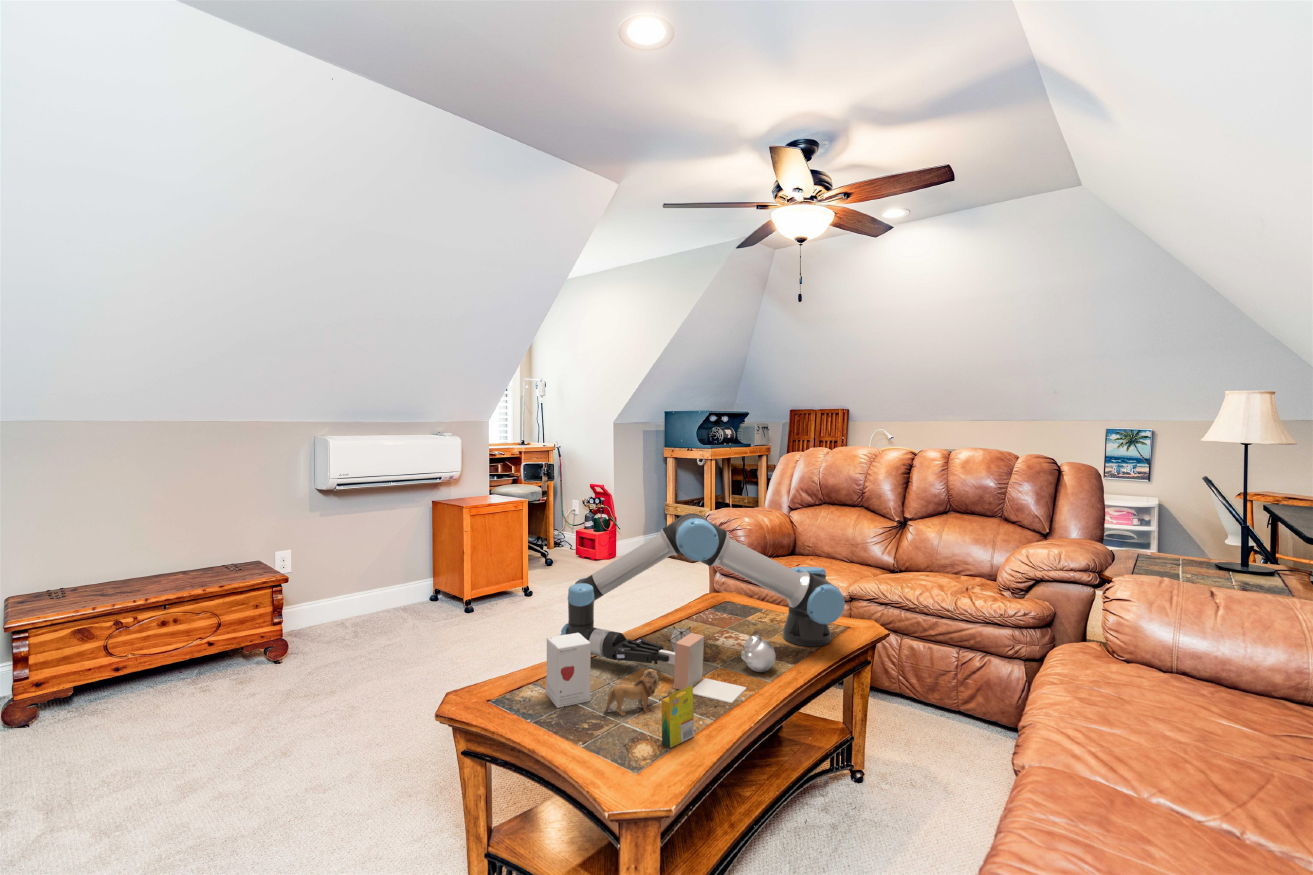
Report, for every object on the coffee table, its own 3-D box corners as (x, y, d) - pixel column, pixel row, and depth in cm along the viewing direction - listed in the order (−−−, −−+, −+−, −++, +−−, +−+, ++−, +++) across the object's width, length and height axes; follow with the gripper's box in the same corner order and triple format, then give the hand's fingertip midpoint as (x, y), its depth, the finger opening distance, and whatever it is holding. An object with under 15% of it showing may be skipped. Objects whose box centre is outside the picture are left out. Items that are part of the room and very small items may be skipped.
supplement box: (556, 709, 151) (556, 648, 151) (545, 694, 159) (545, 636, 159) (591, 701, 155) (591, 642, 155) (579, 687, 163) (578, 631, 163)
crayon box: (685, 732, 140) (685, 680, 139) (694, 737, 137) (694, 685, 137) (660, 743, 135) (660, 690, 135) (669, 748, 133) (669, 694, 132)
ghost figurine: (744, 662, 180) (744, 628, 180) (777, 667, 177) (777, 632, 177) (738, 674, 172) (738, 638, 171) (772, 679, 168) (772, 642, 168)
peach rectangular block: (701, 679, 168) (704, 635, 168) (687, 691, 161) (689, 646, 160) (688, 675, 170) (691, 632, 170) (673, 687, 163) (675, 642, 162)
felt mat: (746, 688, 162) (746, 687, 162) (731, 703, 154) (731, 702, 154) (705, 679, 168) (705, 677, 168) (688, 692, 160) (688, 691, 160)
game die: (685, 664, 189) (703, 635, 191) (684, 664, 181) (702, 634, 183) (661, 646, 191) (679, 618, 193) (658, 646, 183) (677, 616, 185)
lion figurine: (652, 699, 156) (652, 664, 156) (663, 708, 151) (662, 671, 151) (598, 712, 149) (598, 675, 149) (607, 722, 144) (607, 684, 144)
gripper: (620, 649, 184) (692, 665, 172) (595, 664, 172) (669, 682, 161) (620, 624, 184) (691, 638, 172) (594, 638, 172) (669, 653, 160)
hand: (680, 659), depth 166 cm, fingers closed
